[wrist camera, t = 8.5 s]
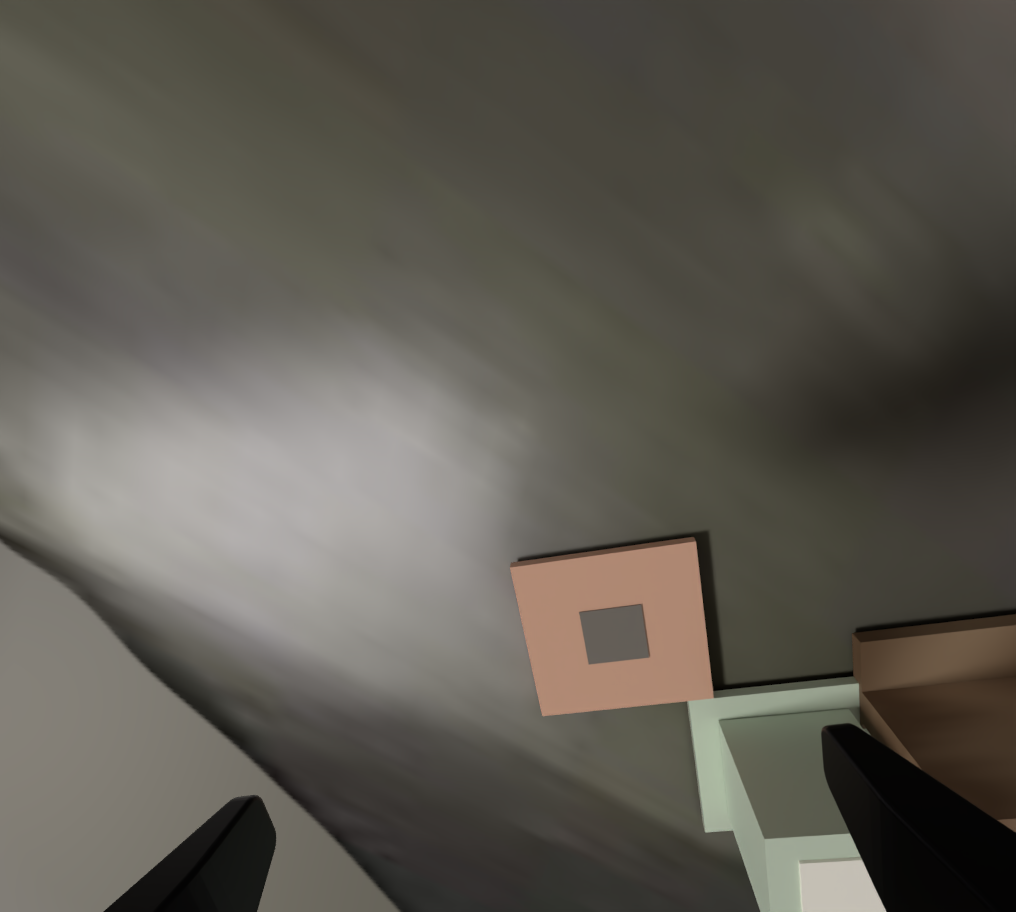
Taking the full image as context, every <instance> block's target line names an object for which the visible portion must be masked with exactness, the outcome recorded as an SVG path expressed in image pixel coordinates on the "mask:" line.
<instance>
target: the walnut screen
mask: <svg viewBox="0 0 1016 912" xmlns="http://www.w3.org/2000/svg"><path fill="white" fill-rule="evenodd" d="M852 646H853V676H854V678H855V679H856V680H857V682H858V683H859V705H860V725H861V727H862V728H863V729H867V730H868V732H869V733H870V735H871V736H872V737H874V738H875V739H877V740H878V741H880V742H881V743H883V744H884V745H886V746H887V747H889V748H890V749H892V750H893V751H895V752H896V753H898V754H899V755H901V756H902V757H904V758H905V759H907V760H908V761H910V762H911V763H913V764H914V765H916V766H917V767H919V768H920V769H922V770H923V771H925V772H926V773H928V774H929V775H931V776H932V777H934V778H935V779H937V780H938V781H940V782H941V783H943V784H944V785H946V786H947V787H949V788H950V789H951V790H953V791H954V792H956V793H957V794H959V795H960V796H962V797H963V798H965V799H966V800H968V801H969V802H971V803H972V804H974V805H975V806H977V807H978V808H980V809H981V810H983V811H984V812H986V813H987V814H989V815H990V816H992V817H993V818H995V819H996V820H998V821H999V822H1001V823H1002V824H1004V825H1005V826H1007V827H1008V828H1010V829H1011V830H1013V831H1014V832H1016V614H1013V615H1005V616H996V617H987V618H979V619H970V620H961V621H953V622H944V623H935V624H927V625H918V626H909V627H901V628H892V629H883V630H875V631H866V632H857V633H852Z"/></svg>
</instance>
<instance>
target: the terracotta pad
mask: <svg viewBox="0 0 1016 912" xmlns="http://www.w3.org/2000/svg"><path fill="white" fill-rule="evenodd" d="M510 569H511V574H512V579H513V583H514V588H515V592H516V597H517V602H518V606H519V611H520V615H521V620H522V625H523V629H524V634H525V638H526V643H527V648H528V652H529V657H530V661H531V666H532V671H533V675H534V680H535V684H536V689H537V694H538V698H539V703H540V707H541V712H542V716H548V715H558V714H568V713H577V712H587V711H597V710H606V709H616V708H626V707H635V706H645V705H654V704H664V703H674V702H683V701H693V700H703V699H712V698H714V696H713V687H712V678H711V669H710V660H709V652H708V643H707V634H706V625H705V616H704V608H703V599H702V590H701V581H700V572H699V564H698V555H697V546H696V541H695V539H694V537H688V538H681V539H674V540H667V541H660V542H653V543H646V544H639V545H632V546H625V547H618V548H611V549H604V550H597V551H590V552H583V553H576V554H569V555H562V556H555V557H548V558H541V559H534V560H527V561H520V562H513V563H511V565H510Z"/></svg>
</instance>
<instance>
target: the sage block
mask: <svg viewBox="0 0 1016 912" xmlns="http://www.w3.org/2000/svg"><path fill="white" fill-rule="evenodd" d="M718 723H719V733H720V742H721V752H722V762H723V771H724V781H725V790H726V800H727V810H728V817H729V820H730V822H731V825H732V828H733V831H734V834H735V837H736V840H737V843H738V846H739V849H740V852H741V855H742V858H743V861H744V864H745V867H746V870H747V873H748V876H749V879H750V882H751V885H752V888H753V891H754V894H755V897H756V900H757V903H758V905H759V908H760V911H761V912H886V910H885V908H884V906H883V904H882V902H881V900H880V898H879V896H878V893H877V891H876V889H875V887H874V885H873V883H872V881H871V878H870V876H869V874H868V872H867V870H866V867H865V865H864V863H863V861H862V859H861V857H860V854H859V852H858V850H857V848H856V846H855V843H854V841H853V839H852V837H851V835H850V833H849V830H848V828H847V826H846V824H845V822H844V819H843V817H842V815H841V813H840V811H839V808H838V806H837V804H836V802H835V800H834V798H833V795H832V793H831V791H830V789H829V786H828V784H827V781H826V778H825V774H824V768H823V755H822V742H821V731H822V728H823V727H824V726H826V725H834V724H843V723H851V724H853V725H856V726H857V727H859V728H860V729H862V730H863V728H862V727H861V725H860V724H859V723H858V721H857V720H856V718H855V717H854V716H853V714H852V713H851V711H850V710H849V709H840V710H829V711H818V712H808V713H797V714H786V715H775V716H765V717H754V718H743V719H732V720H722V721H718ZM863 731H864V730H863Z"/></svg>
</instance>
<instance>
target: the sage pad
mask: <svg viewBox="0 0 1016 912" xmlns="http://www.w3.org/2000/svg"><path fill="white" fill-rule="evenodd" d="M713 696H714V698H712V699H703V700H693V701H687V705H688V712H689V720H690V728H691V735H692V743H693V751H694V759H695V766H696V774H697V782H698V789H699V797H700V805H701V813H702V820H703V826H704V829H705V832H717V831H731V830H733V828H732V825H731V822H730V820H729V817H728V810H727V800H726V790H725V781H724V771H723V762H722V752H721V742H720V733H719V723H718V721H722V720H732V719H743V718H754V717H765V716H775V715H786V714H797V713H808V712H818V711H829V710H840V709H849V710H850V711H851V713H852V714H853V716H854V717H855V718H856V720H857V721H858V723H859V724H860V705H859V683H858V682H857V680H856V679H855V678H854V676H852V677H843V678H833V679H824V680H814V681H805V682H795V683H786V684H776V685H767V686H757V687H748V688H738V689H729V690H719V691H713ZM863 730H864V731H865V732H866V733H868V734H869V735H870V733H869V732H868V730H867V729H863Z"/></svg>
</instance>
